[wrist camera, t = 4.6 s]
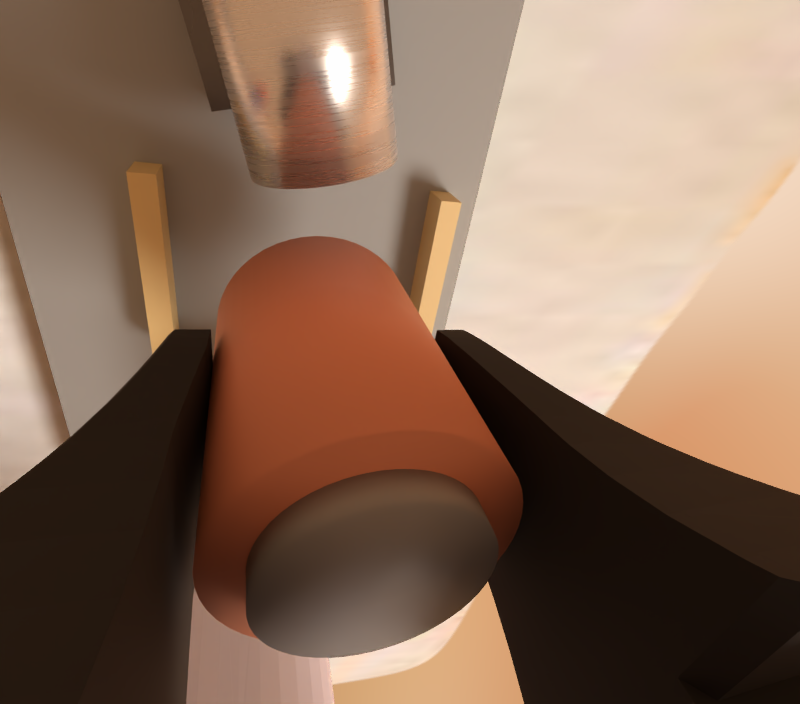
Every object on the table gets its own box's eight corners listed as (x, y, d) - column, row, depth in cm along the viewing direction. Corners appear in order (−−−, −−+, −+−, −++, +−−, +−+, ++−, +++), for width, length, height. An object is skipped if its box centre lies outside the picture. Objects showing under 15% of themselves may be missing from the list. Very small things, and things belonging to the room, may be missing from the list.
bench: (408, 433, 20) (453, 544, 16) (89, 455, 17) (34, 606, 12) (514, -36, 12) (669, -70, 8) (-84, -198, 8) (-449, -443, 4)
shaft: (385, 125, 12) (441, 166, 9) (229, 149, 12) (222, 205, 8) (359, -114, 10) (427, -195, 6) (156, -99, 9) (98, -178, 5)
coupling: (398, 391, 13) (501, 637, 8) (227, 407, 12) (213, 709, 6) (417, 236, 10) (584, 440, 5) (204, 235, 9) (154, 497, 4)
